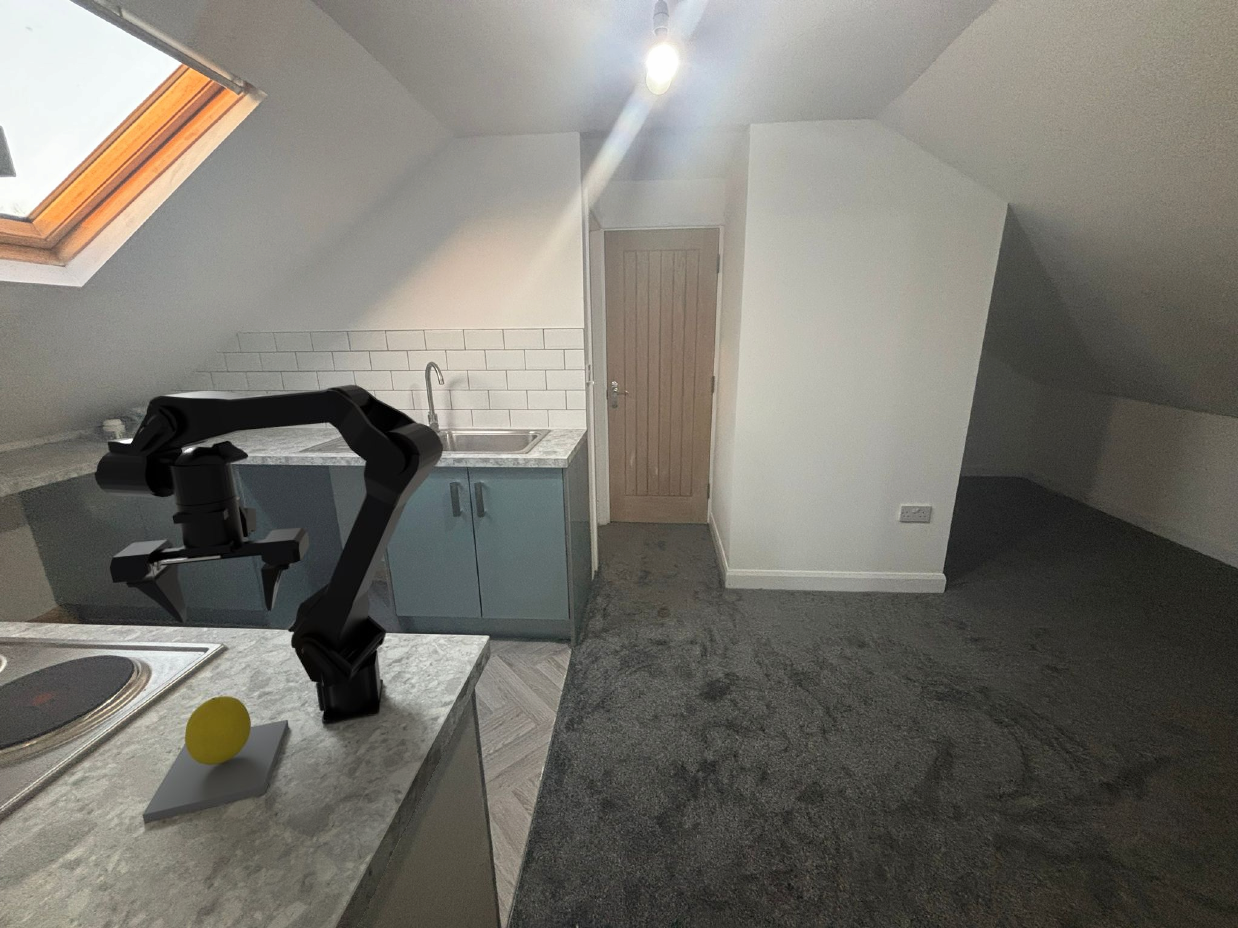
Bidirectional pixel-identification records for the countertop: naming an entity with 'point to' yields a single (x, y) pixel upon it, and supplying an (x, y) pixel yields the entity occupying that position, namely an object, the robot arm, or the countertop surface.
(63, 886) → the countertop surface
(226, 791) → the mat
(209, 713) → the lemon
